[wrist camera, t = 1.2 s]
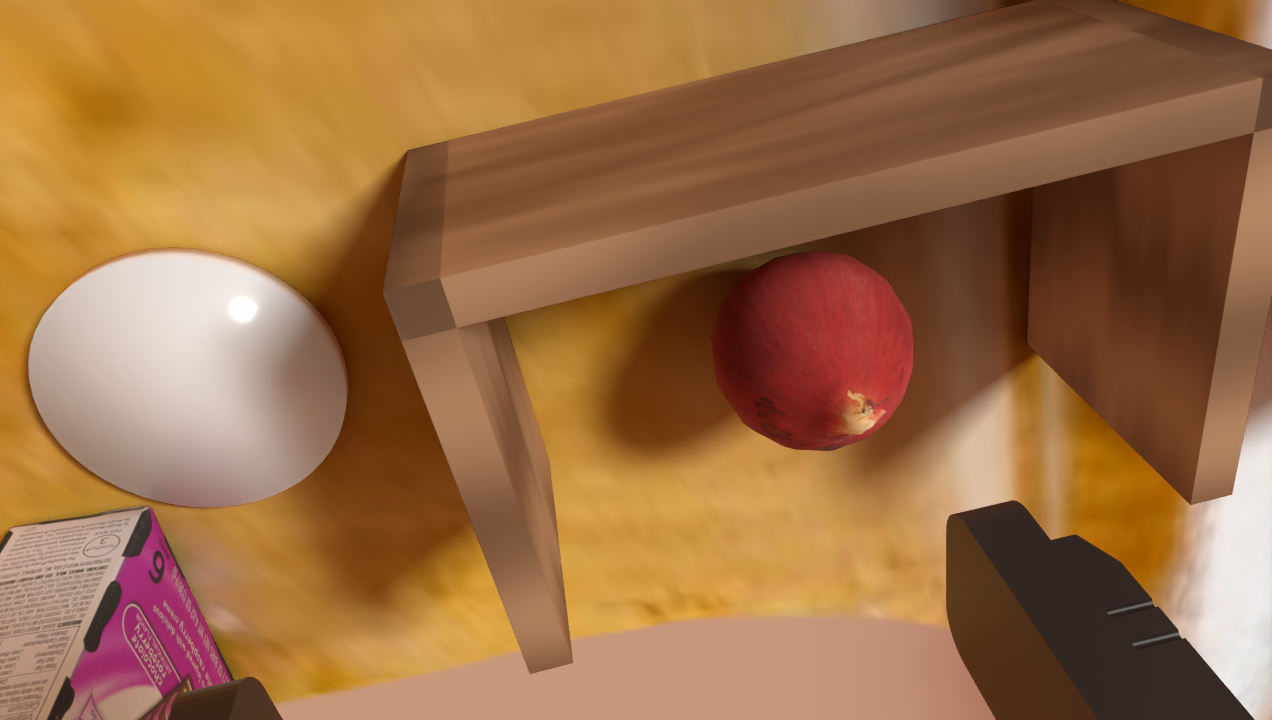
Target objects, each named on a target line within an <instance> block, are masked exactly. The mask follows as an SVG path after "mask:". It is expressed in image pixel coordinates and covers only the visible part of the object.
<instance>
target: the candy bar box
mask: <svg viewBox="0 0 1272 720" xmlns="http://www.w3.org/2000/svg"><path fill="white" fill-rule="evenodd" d="M230 681H234V679H233V677H232V675H231V672H230V670H229V668H228V667H227V665H226V663H225V660H224V658H223V657H222V655H221V652H220V650H219V648H218V646H217V644H216V642H215V641H214V638H213V636H212V634H211V632H210V630H209V627H208V625H207V623H206V621H205V619H204V617H203V615H202V613H201V611H200V609H199V607H198V604H197V602H196V600H195V598H194V596H193V594H192V592H191V590H190V588H189V586H188V584H187V582H186V580H185V577H184V575H183V573H182V571H181V569H180V567H179V565H178V563H177V561H176V559H175V557H174V555H173V552H172V550H171V548H170V546H169V544H168V542H167V539H166V537H165V535H164V533H163V531H162V529H161V527H160V525H159V523H158V521H157V518H156V516H155V514H154V512H153V510H152V508H151V507H150V506H141V507H132V508H122V509H117V510H112V511H108V512H104V513H99V514H94V515H89V516H83V517H76V518H69V519H61V520H54V521H46V522H39V523H34V524H29V525H23V526H16V527H13V528H10V530H9V531H8V533H7V534H6V536H5V538H4V539H3V541H2V542H1V544H0V720H168V717H169V715H170V712H171V709H172V707H173V704H174V702H175V701H176V699H177V698H178V697H179V696H180V695H181V694H182V693H184V692H187V691H192V690H196V689H200V688H204V687H209V686H213V685H217V684H221V683H226V682H230Z"/></svg>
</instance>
